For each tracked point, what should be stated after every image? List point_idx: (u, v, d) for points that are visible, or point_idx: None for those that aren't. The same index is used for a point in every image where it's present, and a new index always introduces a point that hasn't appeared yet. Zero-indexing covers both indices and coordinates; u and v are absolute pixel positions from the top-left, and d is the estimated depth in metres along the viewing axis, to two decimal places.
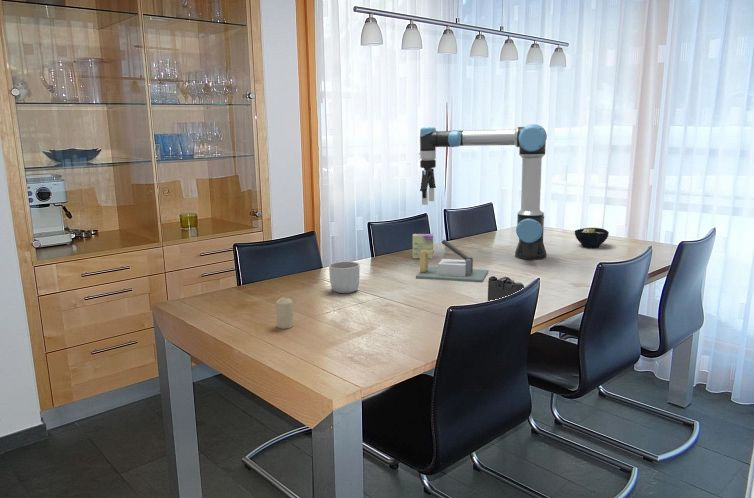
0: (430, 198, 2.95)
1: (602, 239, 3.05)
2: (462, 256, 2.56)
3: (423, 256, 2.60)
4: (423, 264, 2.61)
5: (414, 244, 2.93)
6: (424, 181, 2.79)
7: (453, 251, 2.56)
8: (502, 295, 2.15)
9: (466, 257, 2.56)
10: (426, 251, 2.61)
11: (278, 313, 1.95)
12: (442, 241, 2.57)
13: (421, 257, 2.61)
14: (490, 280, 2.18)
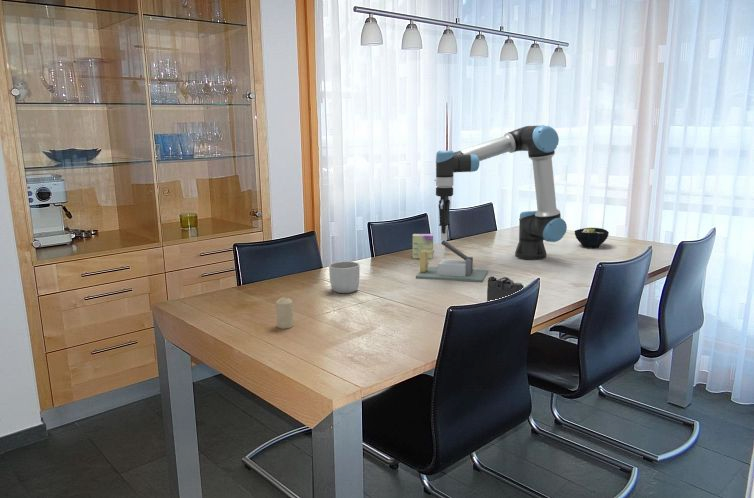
0: None
1: (602, 239, 3.05)
2: (462, 256, 2.56)
3: (423, 256, 2.60)
4: (423, 264, 2.61)
5: (414, 244, 2.93)
6: (442, 216, 2.52)
7: (453, 251, 2.57)
8: (502, 295, 2.14)
9: (466, 257, 2.56)
10: (426, 251, 2.61)
11: (278, 313, 1.95)
12: (442, 242, 2.57)
13: (421, 257, 2.61)
14: (489, 280, 2.17)
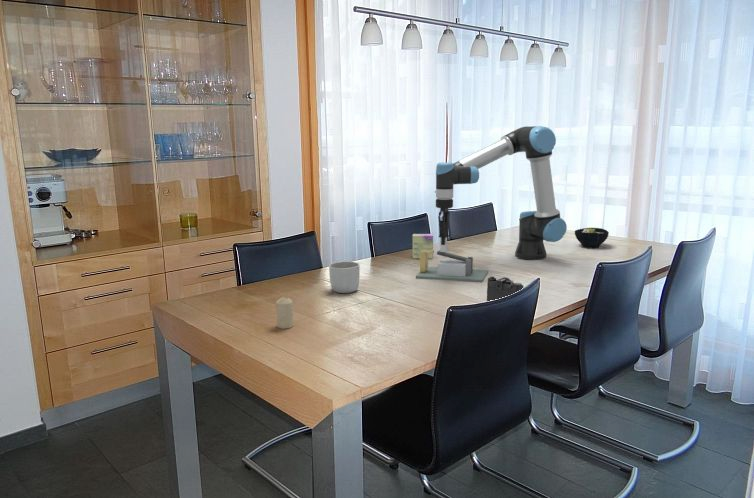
0: None
1: (602, 239, 3.05)
2: (461, 259, 2.56)
3: (423, 256, 2.60)
4: (423, 264, 2.61)
5: (414, 244, 2.93)
6: (442, 228, 2.53)
7: (451, 257, 2.57)
8: (502, 295, 2.14)
9: (465, 258, 2.56)
10: (426, 251, 2.61)
11: (278, 313, 1.95)
12: (437, 252, 2.59)
13: (421, 257, 2.61)
14: (489, 280, 2.17)
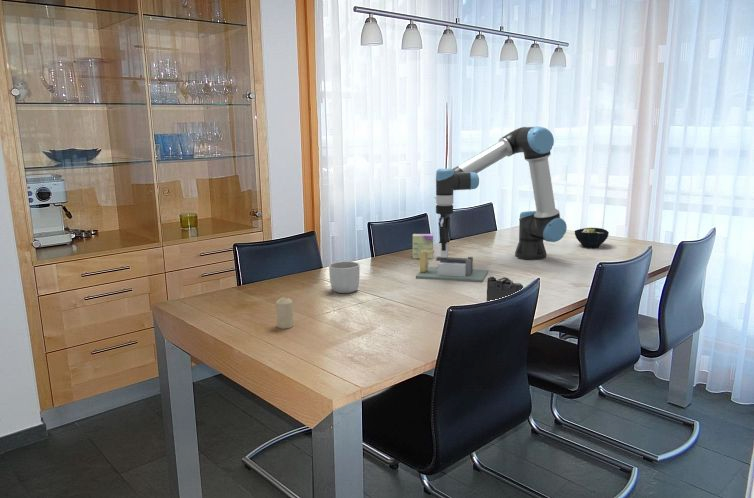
0: None
1: (602, 239, 3.05)
2: (460, 260, 2.56)
3: (423, 256, 2.60)
4: (423, 264, 2.61)
5: (414, 244, 2.93)
6: (442, 234, 2.53)
7: (450, 261, 2.58)
8: (501, 295, 2.14)
9: (464, 259, 2.56)
10: (426, 251, 2.61)
11: (278, 313, 1.95)
12: (436, 258, 2.60)
13: (421, 257, 2.61)
14: (489, 281, 2.17)
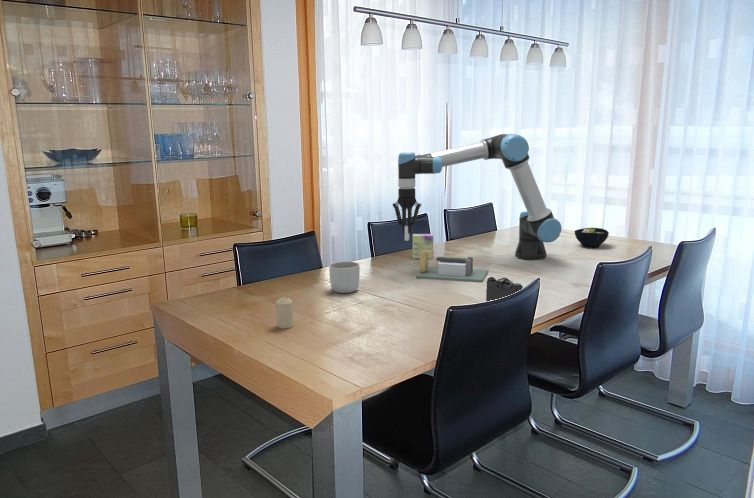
0: None
1: (602, 239, 3.05)
2: (460, 260, 2.56)
3: (423, 256, 2.60)
4: (423, 264, 2.61)
5: (414, 244, 2.93)
6: None
7: (450, 261, 2.58)
8: (501, 295, 2.14)
9: (464, 259, 2.56)
10: (426, 251, 2.61)
11: (278, 313, 1.95)
12: (436, 258, 2.60)
13: (421, 257, 2.61)
14: (488, 281, 2.17)
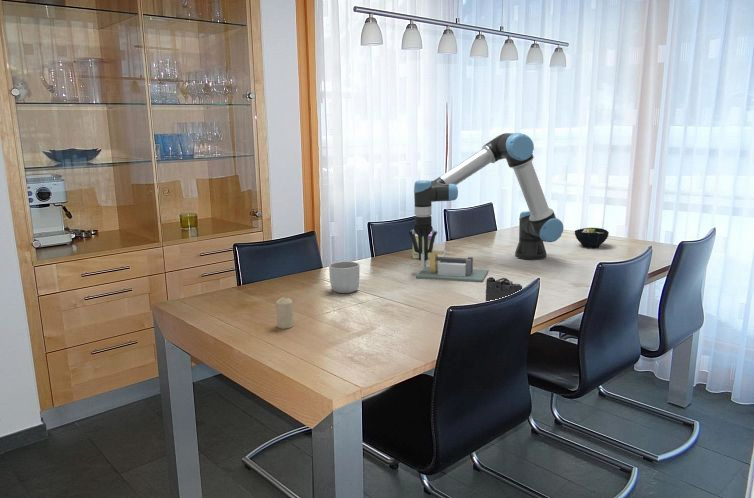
0: None
1: (602, 239, 3.05)
2: (460, 260, 2.56)
3: (433, 256, 2.59)
4: (433, 265, 2.60)
5: None
6: None
7: (450, 261, 2.58)
8: (500, 296, 2.13)
9: (464, 259, 2.56)
10: (436, 251, 2.60)
11: (278, 313, 1.95)
12: (436, 258, 2.60)
13: (431, 257, 2.59)
14: (488, 281, 2.16)
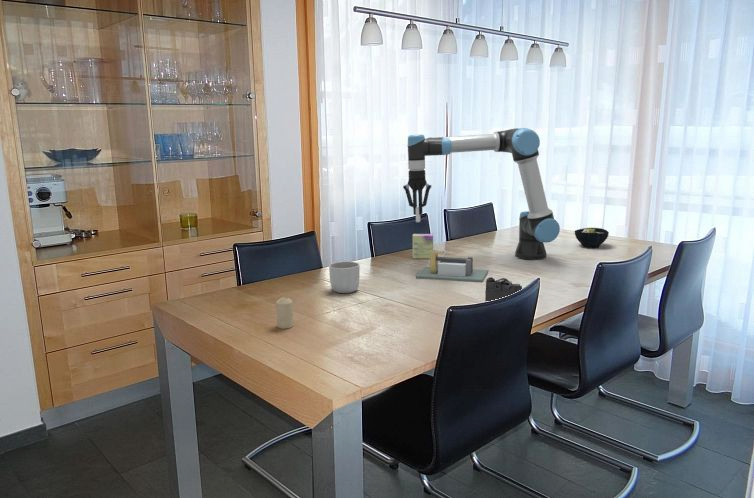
0: None
1: (602, 239, 3.05)
2: (460, 260, 2.56)
3: (433, 256, 2.59)
4: (433, 265, 2.60)
5: (414, 244, 2.93)
6: None
7: (450, 261, 2.58)
8: (500, 296, 2.13)
9: (464, 259, 2.56)
10: (436, 251, 2.60)
11: (278, 313, 1.95)
12: (436, 258, 2.60)
13: (431, 258, 2.59)
14: (488, 281, 2.16)
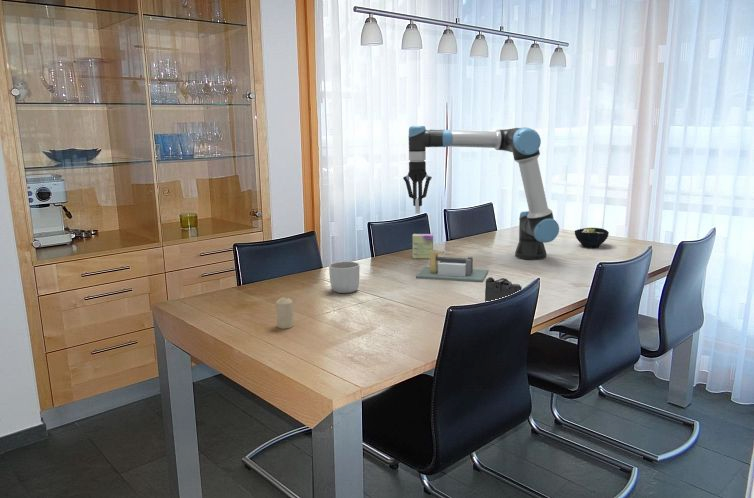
0: None
1: (602, 239, 3.05)
2: (460, 260, 2.56)
3: (433, 256, 2.59)
4: (433, 265, 2.60)
5: (414, 244, 2.93)
6: None
7: (450, 261, 2.58)
8: (500, 296, 2.13)
9: (464, 259, 2.56)
10: (436, 251, 2.60)
11: (278, 313, 1.95)
12: (436, 258, 2.60)
13: (431, 258, 2.59)
14: (487, 281, 2.16)
